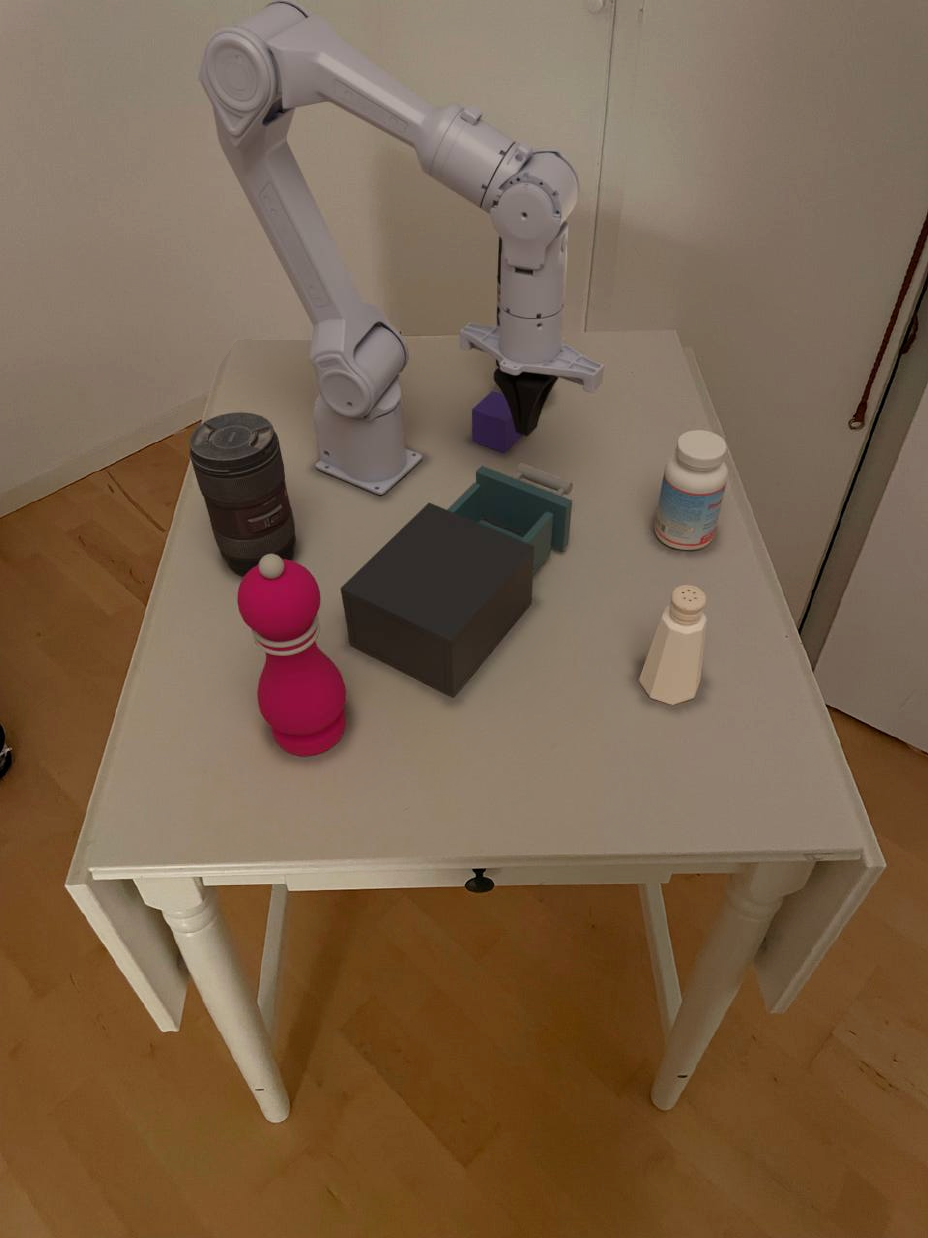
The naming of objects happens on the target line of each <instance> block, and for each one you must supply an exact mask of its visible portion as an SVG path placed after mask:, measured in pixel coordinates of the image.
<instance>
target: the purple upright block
mask: <svg viewBox="0 0 928 1238" xmlns="http://www.w3.org/2000/svg"><path fill="white" fill-rule="evenodd" d="M471 429H472V430H471V431H472V433H471V435H472V439H471V440H472V442H474V443H477V444H479V445H481V446H485V447H487V448H490V449H493V450H495V451H498V452H501V453H503V454H505V453H506V452H507V451H508V450H509V449H510V448H512V446H514V444H515V443H516V442H517V441H518V440H520V438H522V436H523V435H522V434H519V433H517V432H516V430H515V426H514V422H513V418H512V415H511V411H510V408H509V406H508V403H507V401H506V399H505V396H504V395H503V394H500V393H498V392H496V391H495V390H491V391H490V392H489V393H488V394H487V395H486V396H485V397H484V398H483V399H481V400H480V401H479V402H478V403H477V404H476V405H475V406H474V407H473V408H472V409H471Z"/></svg>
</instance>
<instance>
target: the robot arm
mask: <svg viewBox="0 0 928 1238" xmlns="http://www.w3.org/2000/svg"><path fill="white" fill-rule="evenodd" d="M197 78H198V80H199V83H200V84H201V86H202V88H203V91H204V93H205V95H206V96H207V99H208V100H209V102H210V105H211V106H212V110H213V111H212V112H213V116H214V122H215V127H216V134H217V138H218V143H219V145H220V147H221V150H222V153H223V154H224V156H225V158H226V160H227V162H228V164H229V165H230V168H231V170H232V171H233V173H234V176H235V177H236V179H237V181H238V183H239V185H240V187H241V190H242V191H243V193H244V195H245V196H246V198H247V201H248V202H249V204H250V206H251V208H252V210H253V212H254V214H255V216H256V218H257V220H258V222H259V224H260V226H261V228H262V229H263V231H264V233H265V235H266V237H267V239H268V241H269V243H270V245H271V247H272V248H273V251H274V253H275V255H276V256H277V258H278V261H279V262H280V264H281V266H282V268H283V270H284V273H285V274H286V276H287V278H288V279H289V282H290V284H291V285H292V288H293V289H294V291H295V293H296V295H297V297H298V299H299V301H300V304H301V305H302V306H303V308H304V311H305V313H306V315H307V317H308V318H309V320H310V323H311V324H312V336H311V342H310V348H309V356H308V357H309V361H310V362H311V365H312V367H313V369H314V373H315V375H316V384H317V390H318V393H319V394H318V396H317V398H316V399H315V403H314V406H313V412H312V413H313V414H312V417H313V418H312V419H313V427H314V432H315V438H316V439H315V440H316V443H317V444H316V445H317V450H318V451H317V452H318V457H319V461H317V462H316V463H315V468H316V470H318V471H321V472H323V473H326V474H328V475H331V476H333V477H336V478H338V479H340V480H343V481H345V482H348V483H349V484H352V485H354V486H357V487H359V488H361V489H363V490H366V491H369V492H371V493H374V494H376V495H378V496H384V495H385V494H386V493H387V492H388V491H389V490H390V489H391V488H393V487H394V486H395V485H396V484H397V483H398V482H399V481H400V480H401V479H402V478H404V476H405V475H407V474H408V473H409V472H410V471H412V470H413V468H414V467H416V466H417V465H418V464H419V463H420V462H421V461H422V460H423V455H422V454H421V453H419V452H416V451H414V450H411V449H408V448H406V443H405V440H406V439H405V429H404V418H403V417H404V416H403V405H402V403H403V401H402V390H401V387H400V385H401V379H400V374H401V373H402V372H403V371H404V370H405V368H406V367H407V366H408V362H409V359H410V352H409V347H408V344H407V342H406V340H405V338H404V336H403V335H402V333H400V332H399V330H397V329H396V328H395V327H394V326H393V325H392V324H391V323H390V321H389V320H388V318H387V316H386V314H385V312H384V310H383V308H382V307H380V306H378V305H376V304H374V303H370V302H368V301H365V300H363V299H362V296H361V294H360V292H359V290H358V288H357V286H356V283H355V281H354V280H353V278H352V275H351V274H350V271H349V269H348V267H347V264H346V263H345V261H344V259H343V256H342V254H341V252H340V250H339V248H338V246H337V244H336V241H335V240H334V238H333V235H332V233H331V231H330V229H329V227H328V224H327V223H326V221H325V219H324V216H323V214H322V212H321V210H320V208H319V206H318V204H317V201H316V200H315V197H314V196H313V192H312V191H311V189H310V187H309V184H308V183H307V181H306V179H305V177H304V174H303V172H302V170H301V168H300V166H299V164H298V162H297V159H296V157H295V155H294V154H293V151H292V149H291V147H290V145H289V143H288V140H287V137H288V134H289V130H290V127H291V125H292V121H293V117H294V114H295V111H296V109H297V108H301V107H306V106H310V105H317V104H320V103H321V104H322V103H330V104H333V105H334V106H336V107H338V108H340V109H342V110H343V111H345V112H347V113H349V114H351V115H353V116H354V117H356V118H359V119H360V120H362V121H364V122H365V123H367V124H369V125H371V126H373V127H374V128H376V129H378V130H380V131H382V132H384V133H386V134H387V135H389V136H391V137H392V138H394V139H396V140H398V141H400V142H402V143H403V144H405V145H407V146H409V147H411V148H413V149H414V151H415V153H416V156H417V159H418V164H419V166H420V169H421V171H422V172H423V173H424V174H426V175H427V176H429V177H431V178H432V179H433V180H435V181H437V182H439V183H440V184H441V185H443V186H445V187H446V188H448V189H449V190H450V191H453V193H456V194H457V195H458V196H460V197H462V198H463V199H465V200H467V201H468V202H470V203H471V204H472V205H474V206H476V207H477V208H479V209H481V210H482V211H484V212H485V213H487V214H489V215H490V218H491V223H492V225H493V227H494V229H495V231H496V233H497V235H498V237H499V236H500V237H501V239H502V252H501V289H500V327H496V326H497V325H495V326H494V325H488V324H487V325H486V324H481V323H477V322H474V321H470V322H468V324H466V325H465V326H464V327H462V328H461V329H460V330H459V349H461V350H464V351H468V352H469V351H471V350H472V349H474V350H477V351H480V352H483V353H486V354H488V355H489V356H490V357H492V358H493V359H495V361H496V360H498V361H499V362H500V364H499V368H497V369H496V368H495V370H494V372H493V381H494V383H495V382H496V384H497V385H498V386H499V388H500V389H501V391H502V393H503V395H504V396H505V399H506V401H507V403H508V406H509V408H510V411H511V415H512V418H513V422H514V426H515V430H516V432H517V433H519V434H522V436H525V437H529V436H530V435H531V434H532V432H534V431H535V430H536V429H537V428H538V424H539V420H540V418H541V414H542V412H543V408H544V406H545V403H546V401H547V400H548V397H549V395H550V393H551V391H552V390H553V388H554V387H555V384H556V383H557V381H558V380H559V378H560V379H563V380H564V381H565V380H566V381H568V382H571V383H574V384H577V385H580V386H582V390H583V391H584V392H588V393H590V394H593V393H594V392H595V391H596V390H598V389H599V387H600V386H601V385H602V384H603V380H604V372H605V371H604V370H605V365H604V364H602V363H599V362H596V361H594V360H592V359H590V358H589V357H587V356H585V355H584V354H582V353H581V352H579V351H577V350H576V349H574V348H573V347H572V346H569V345H568V344H567V343H565V342H563V341H562V337H563V336H562V335H563V323H564V322H563V321H564V309H565V307H564V306H565V298H566V297H565V296H566V284H567V283H566V282H567V270H568V269H567V268H568V241H569V237H568V236H569V225H570V224H569V222H568V221H567V218H568V217H569V216H570V214H571V213H572V211H574V208H575V207H576V203H577V202H578V199H579V195H580V190H581V189H580V186H581V185H580V180H579V176H578V173H577V171H576V169H575V167H574V166H573V164H572V163H571V161H569V160H568V159H567V158H566V157H565V156H564V155H563V154H562V153H561V151H559V150H558V149H556V148H552V147H538V148H535V149H534V147H533V146H532V145H531V144H529V143H528V142H527V141H524V140H523V141H521V143H520V142H518V141H516V140H515V139H513V138H512V137H510V136H509V135H507V134H506V133H504V132H503V131H501V130H499V129H498V128H496V127H495V126H493V125H491V124H490V123H488V122H487V121H485V120H484V119H482V117H483V115H484V112H483V110H482V109H480V108H478V107H477V106H476V105H473V104H472V103H469V104H468V105H467V106H466V107H464V106H462V105H460V104H459V103H457V102H455V103H450V104H447V105H444V106H438V107H435V106H433V105H432V104H430V103H429V102H428V101H426V100H425V99H424V98H423V97H421V96H419V94H417V93H415V92H414V91H413V90H412V89H410V88H409V87H407V86H406V85H405V84H403V83H402V82H400V81H399V80H398V79H397V78H395V77H394V76H393V75H391V74H390V73H388V72H387V71H385V70H384V69H383V68H381V67H380V66H378V65H377V64H376V63H374V62H373V61H372V60H371V59H369V58H368V57H366V56H365V55H364V54H362V53H361V52H359V51H358V50H357V49H355V47H353V46H351V45H350V44H349V43H347V42H346V41H345V40H343V39H342V37H340V35H339V34H338V33H337V31H336V30H335V29H334V27H333V26H332V24H331V23H330V21H329V20H327V19H326V18H324V17H322V16H320V15H317V14H315V13H313V14H312V13H310V11H309V9H307V8H306V7H304V5H302V4H300V3H299V2H297V1H295V0H272V1H270V2H269V3H268V4H266V5H265V6H264V7H263V8H261V9H260V10H258V11H256V12H254V13H252V14H250V15H249V16H246V17H245V18H242V19H241V20H239V21H237V22H235V23H233V24H231V25H229V26H225V27H222V28H218V29H217V30H216V31H214V32H213V33H212V34H211V35H210V37H209V38H208V40H207V41H206V44H205V47H204V51H203V55H202V58H201V63H200V66H199V69H198V73H197ZM546 399H547V400H546Z"/></svg>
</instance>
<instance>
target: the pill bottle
mask: <svg viewBox="0 0 928 1238" xmlns="http://www.w3.org/2000/svg"><path fill="white" fill-rule="evenodd" d="M674 452H675V453H674V454H672V456H670V457H669V459H667V462H666V463H665V465H664V470H663V471H664V472H663V477H662V483H661V488H660V492H659V493H660V494H659V499H658V503H657V509H656V516H655V522H654V532H655V535H656V536H657V538H658V540H660V541H661V542H662V543H663V544H664V545H666V546H668V547H670V548H672V549H677V550H681V551H682V550H684V551H695V550H700V549H703V548H705V547H707V546H708V545H709V544H710V543H711V542H712V540H713V538H714V537H715V533H716V529H717V524H718V521H719V516H720V512H721V508H722V504H723V500H724V496H725V490H726V488H727V487H726V486H727V483H728V477H729V471H728V467H727V465H726V463H725V458H726V452H727V443H726V441H725V439H723V438H722V437H721V436H720V435H718V434H716V433H714V432H713V431H709V430H703V429H695V430H694V429H693V430H688V431H686V432H683V434H681V435H680V436H679V438H678V439H677V441H676V446H675V451H674Z"/></svg>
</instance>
